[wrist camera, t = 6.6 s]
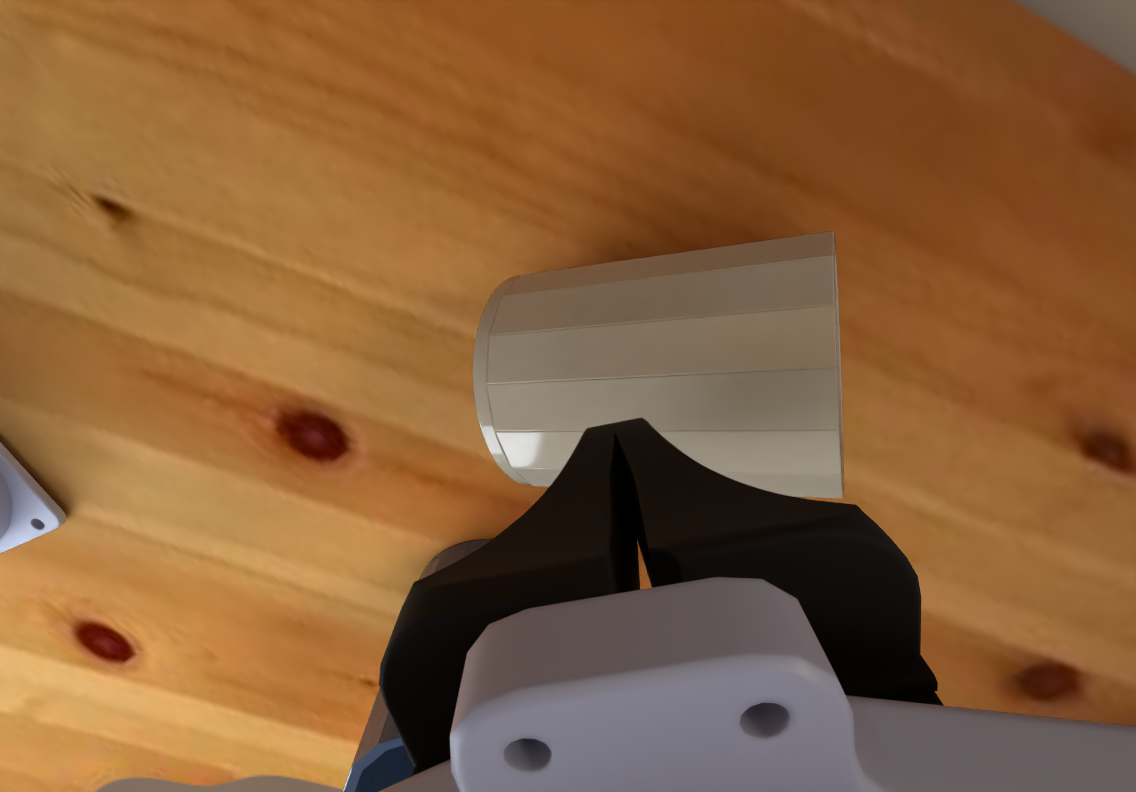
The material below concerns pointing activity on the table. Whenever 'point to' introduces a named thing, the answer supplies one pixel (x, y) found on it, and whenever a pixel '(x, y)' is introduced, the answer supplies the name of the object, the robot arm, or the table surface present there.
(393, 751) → the blue cup
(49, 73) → the table surface
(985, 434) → the table surface
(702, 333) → the cream cup
